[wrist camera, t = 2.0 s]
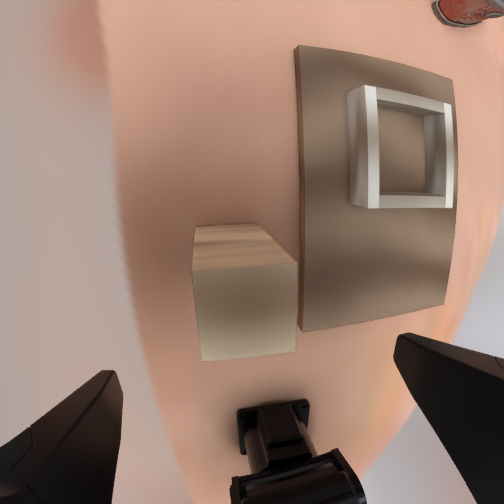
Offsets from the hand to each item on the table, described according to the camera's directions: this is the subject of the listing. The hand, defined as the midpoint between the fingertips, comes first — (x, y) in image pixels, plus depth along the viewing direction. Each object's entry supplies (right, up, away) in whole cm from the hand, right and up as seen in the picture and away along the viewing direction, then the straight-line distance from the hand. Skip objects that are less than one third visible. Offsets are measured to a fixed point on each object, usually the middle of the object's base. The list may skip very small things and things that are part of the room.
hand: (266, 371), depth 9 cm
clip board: (+10, +8, +13) cm, 18 cm away
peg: (-2, +3, +12) cm, 13 cm away
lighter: (+20, +27, +9) cm, 35 cm away
